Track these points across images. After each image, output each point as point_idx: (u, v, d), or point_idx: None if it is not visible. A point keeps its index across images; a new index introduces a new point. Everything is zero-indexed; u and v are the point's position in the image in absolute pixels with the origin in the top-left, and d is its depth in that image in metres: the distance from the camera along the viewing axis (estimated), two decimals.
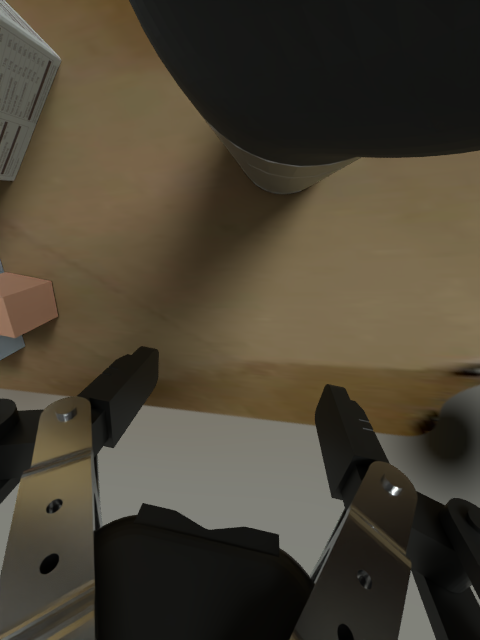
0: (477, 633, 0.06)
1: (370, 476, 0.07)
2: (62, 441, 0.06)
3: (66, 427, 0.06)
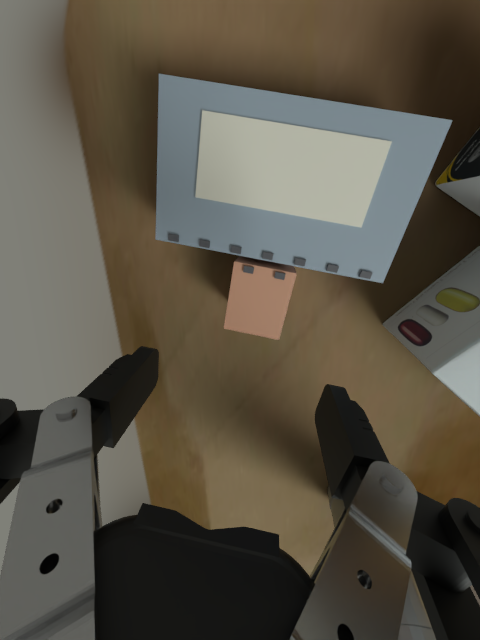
0: (477, 633, 0.06)
1: (370, 476, 0.07)
2: (62, 441, 0.06)
3: (65, 427, 0.06)
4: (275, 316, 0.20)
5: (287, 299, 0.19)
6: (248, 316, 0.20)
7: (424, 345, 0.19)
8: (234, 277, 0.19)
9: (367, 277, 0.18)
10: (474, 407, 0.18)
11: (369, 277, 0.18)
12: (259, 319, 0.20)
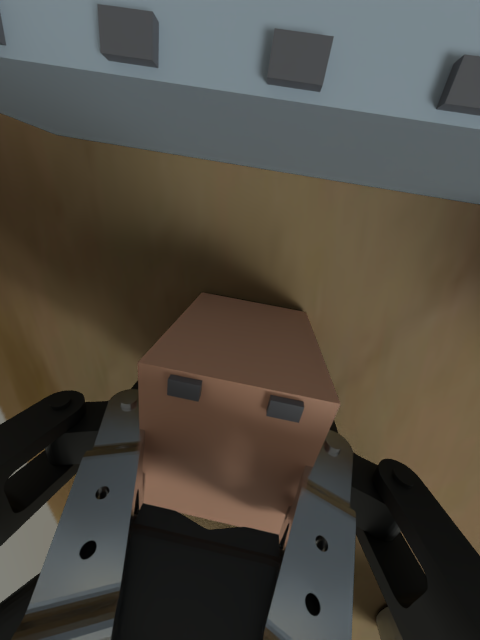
0: (409, 570, 0.06)
1: None
2: (133, 428, 0.07)
3: (125, 417, 0.07)
4: (273, 495, 0.07)
5: (307, 462, 0.07)
6: (198, 487, 0.08)
7: None
8: (146, 402, 0.06)
9: None
10: None
11: None
12: (228, 496, 0.08)
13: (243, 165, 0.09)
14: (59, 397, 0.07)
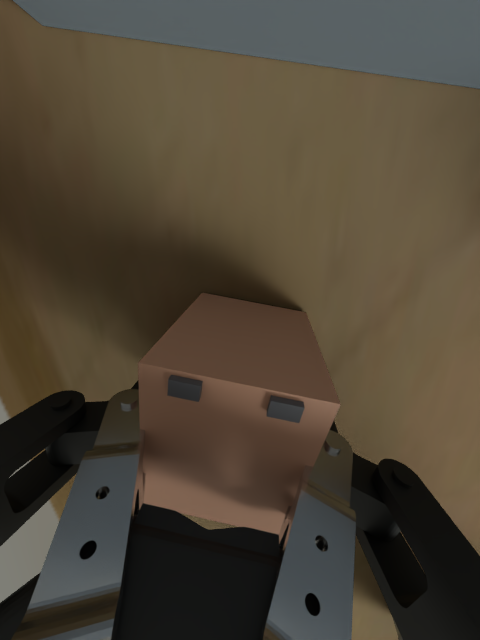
0: (409, 570, 0.06)
1: None
2: (133, 428, 0.07)
3: (126, 417, 0.07)
4: (273, 495, 0.07)
5: (307, 463, 0.07)
6: (198, 487, 0.08)
7: None
8: (147, 403, 0.06)
9: None
10: None
11: None
12: (229, 496, 0.08)
13: (258, 56, 0.08)
14: (59, 397, 0.07)
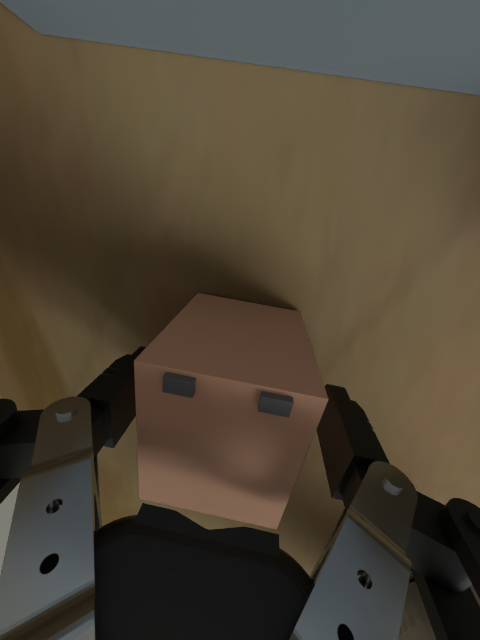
0: (477, 633, 0.06)
1: (370, 476, 0.07)
2: (62, 441, 0.06)
3: (66, 427, 0.06)
4: (267, 489, 0.07)
5: (298, 456, 0.07)
6: (194, 482, 0.08)
7: None
8: (143, 399, 0.07)
9: None
10: None
11: None
12: (223, 490, 0.08)
13: (250, 62, 0.08)
14: None
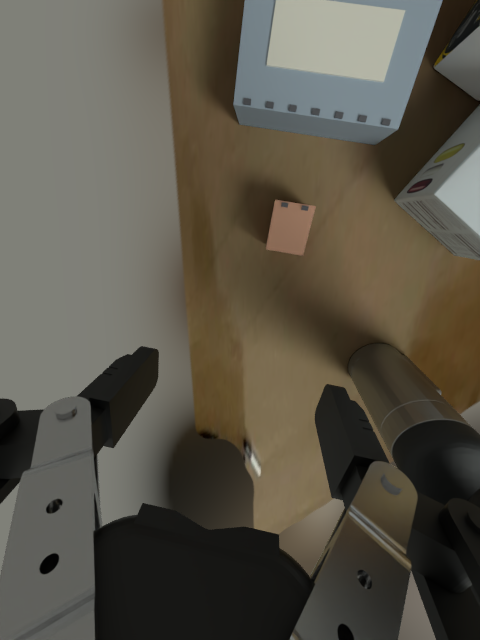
0: (477, 633, 0.06)
1: (370, 476, 0.07)
2: (62, 441, 0.06)
3: (65, 427, 0.06)
4: (301, 238, 0.31)
5: (309, 225, 0.30)
6: (282, 239, 0.31)
7: (427, 186, 0.27)
8: (275, 211, 0.30)
9: (387, 123, 0.25)
10: (465, 220, 0.25)
11: (388, 124, 0.25)
12: (290, 241, 0.31)
13: (296, 132, 0.31)
14: None
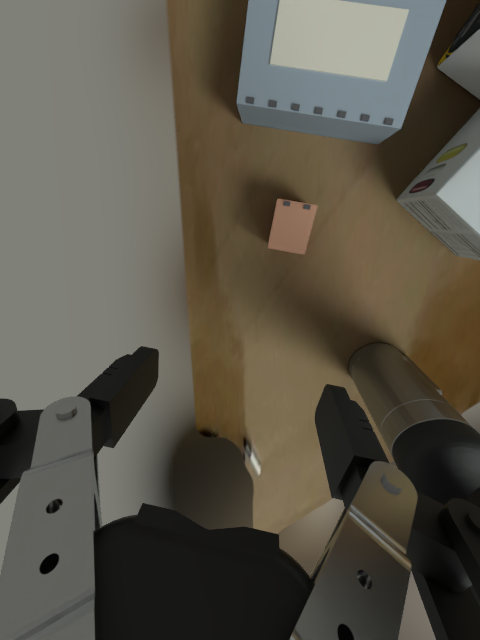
0: (477, 633, 0.06)
1: (370, 476, 0.07)
2: (62, 441, 0.06)
3: (65, 427, 0.06)
4: (303, 237, 0.31)
5: (311, 224, 0.30)
6: (284, 238, 0.31)
7: (429, 186, 0.27)
8: (277, 209, 0.30)
9: (390, 123, 0.25)
10: (467, 220, 0.25)
11: (391, 123, 0.25)
12: (291, 240, 0.31)
13: None
14: None
